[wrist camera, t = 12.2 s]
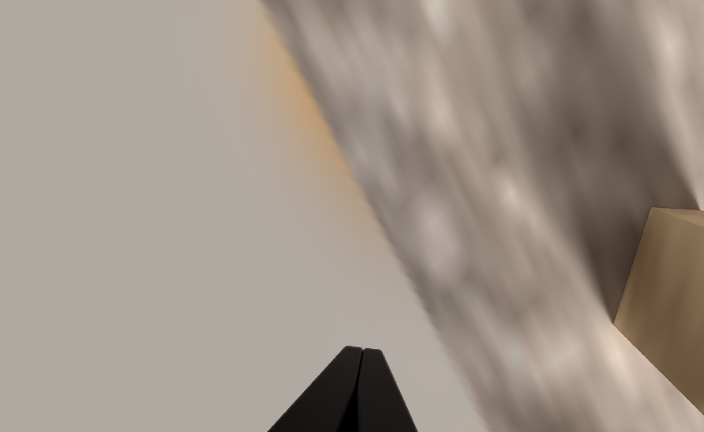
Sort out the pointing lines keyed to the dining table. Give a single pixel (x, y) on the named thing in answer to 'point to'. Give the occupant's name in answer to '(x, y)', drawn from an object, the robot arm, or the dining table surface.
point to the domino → (669, 299)
